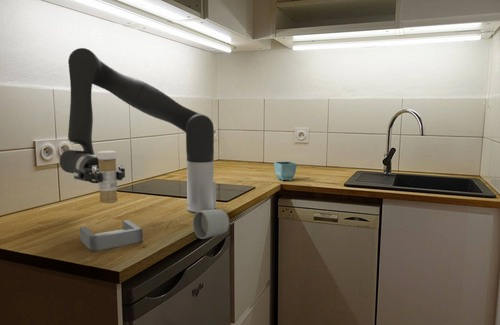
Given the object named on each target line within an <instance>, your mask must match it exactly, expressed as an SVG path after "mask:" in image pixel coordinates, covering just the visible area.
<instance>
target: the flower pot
mask: <svg viewBox="0 0 500 325" xmlns="http://www.w3.org/2000/svg"><path fill="white" fill-rule="evenodd" d="M273 166H274V174H275V176H276V178H277V180H279V179H281V180H290V179H292V180H293V179H294V177H295V174H296V172H297V163H296V162H293V161H274V162H273ZM281 180H280V181H281Z"/></svg>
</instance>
